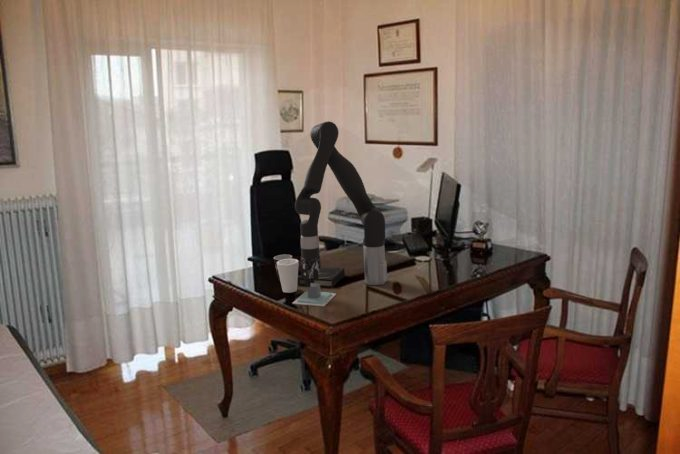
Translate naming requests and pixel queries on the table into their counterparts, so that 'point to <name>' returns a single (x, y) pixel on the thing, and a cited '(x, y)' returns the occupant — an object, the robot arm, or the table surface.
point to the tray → (314, 303)
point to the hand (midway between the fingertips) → (312, 283)
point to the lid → (314, 295)
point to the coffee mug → (280, 257)
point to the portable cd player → (325, 277)
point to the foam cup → (288, 274)
